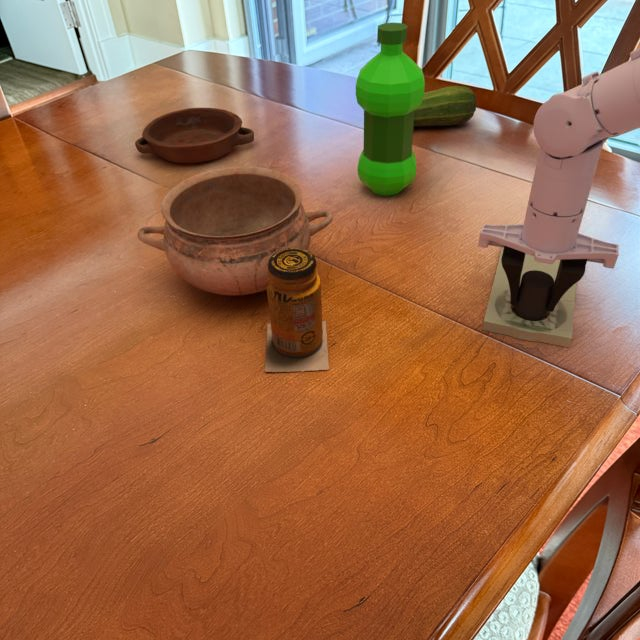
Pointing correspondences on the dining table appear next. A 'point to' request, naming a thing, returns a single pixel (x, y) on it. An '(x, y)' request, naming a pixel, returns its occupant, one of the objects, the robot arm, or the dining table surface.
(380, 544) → the dining table surface
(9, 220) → the dining table surface
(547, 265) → the plate
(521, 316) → the stopper
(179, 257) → the cooking pot
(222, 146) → the dish
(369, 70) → the plastic bottle
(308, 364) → the condiment
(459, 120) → the vegetable
